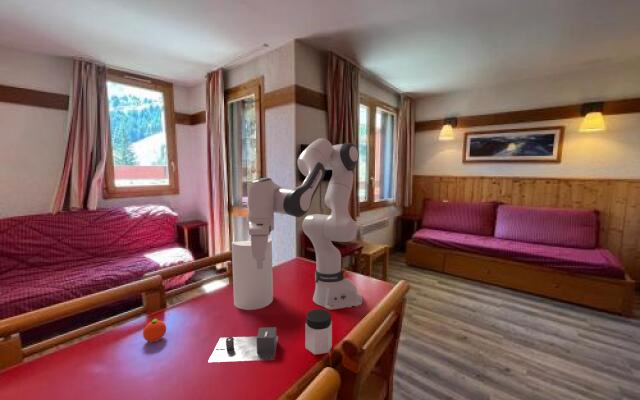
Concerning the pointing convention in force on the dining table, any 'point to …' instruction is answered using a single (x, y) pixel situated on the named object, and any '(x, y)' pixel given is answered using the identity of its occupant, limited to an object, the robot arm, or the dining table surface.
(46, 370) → the dining table surface
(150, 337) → the clementine
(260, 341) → the dark gray cube
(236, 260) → the cylinder
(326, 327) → the jar
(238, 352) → the plate
